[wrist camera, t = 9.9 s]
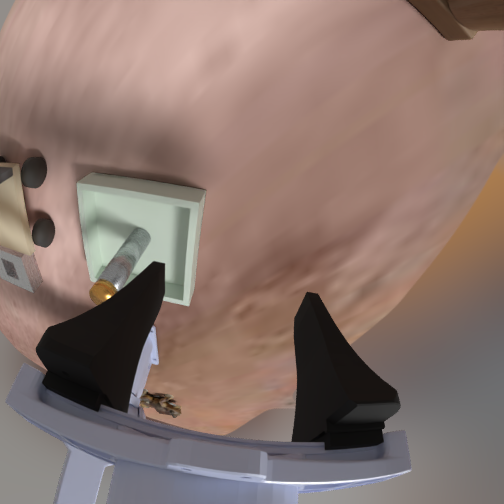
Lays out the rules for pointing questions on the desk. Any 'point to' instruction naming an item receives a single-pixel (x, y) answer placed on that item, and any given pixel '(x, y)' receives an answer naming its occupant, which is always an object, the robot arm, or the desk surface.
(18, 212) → the ramp trolley
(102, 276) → the pin
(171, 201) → the tray
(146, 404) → the frog figurine
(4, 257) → the plate
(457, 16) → the wooden block
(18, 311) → the desk surface
